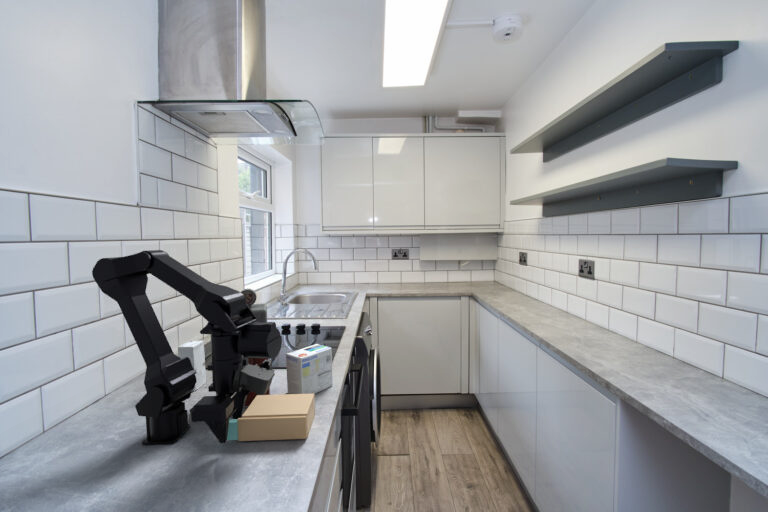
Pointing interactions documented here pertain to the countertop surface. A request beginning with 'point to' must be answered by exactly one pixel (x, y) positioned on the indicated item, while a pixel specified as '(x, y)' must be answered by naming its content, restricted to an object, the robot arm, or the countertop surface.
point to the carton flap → (267, 428)
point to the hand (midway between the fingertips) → (230, 432)
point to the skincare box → (195, 359)
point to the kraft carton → (283, 407)
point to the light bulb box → (309, 369)
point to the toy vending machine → (261, 314)
